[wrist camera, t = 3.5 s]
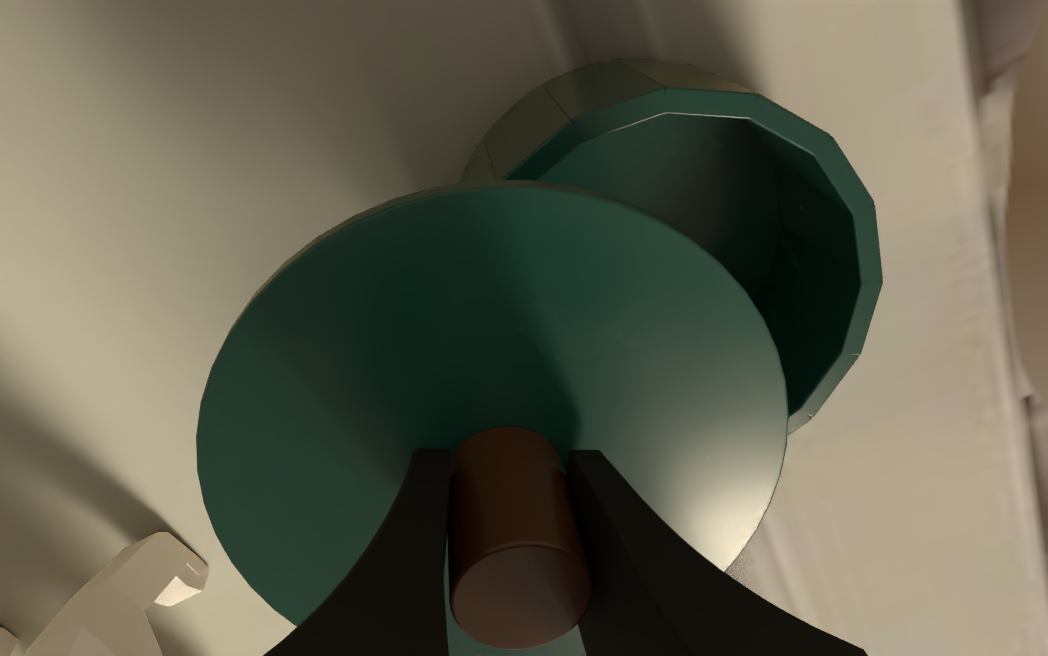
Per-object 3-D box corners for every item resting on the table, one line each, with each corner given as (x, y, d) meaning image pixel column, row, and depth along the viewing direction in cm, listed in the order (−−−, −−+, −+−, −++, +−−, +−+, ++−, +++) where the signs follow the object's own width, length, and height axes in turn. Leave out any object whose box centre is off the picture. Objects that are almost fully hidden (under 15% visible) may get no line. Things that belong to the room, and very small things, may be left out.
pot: (750, 391, 27) (820, 488, 23) (442, 386, 26) (445, 488, 21) (828, 72, 23) (938, 106, 18) (456, 44, 21) (464, 72, 16)
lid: (710, 636, 20) (780, 807, 16) (233, 647, 18) (178, 842, 14) (830, 188, 15) (979, 277, 11) (180, 149, 13) (71, 236, 9)
